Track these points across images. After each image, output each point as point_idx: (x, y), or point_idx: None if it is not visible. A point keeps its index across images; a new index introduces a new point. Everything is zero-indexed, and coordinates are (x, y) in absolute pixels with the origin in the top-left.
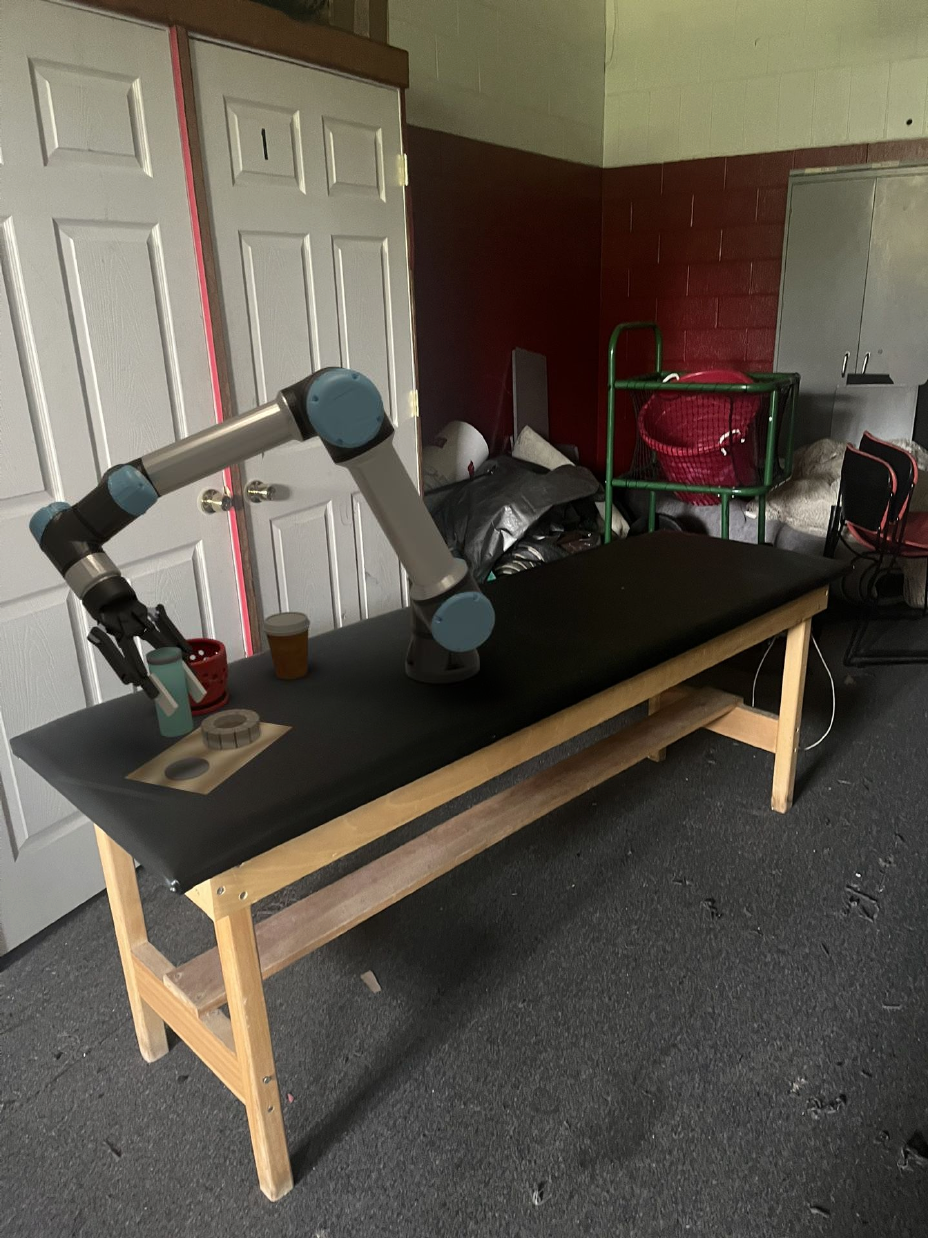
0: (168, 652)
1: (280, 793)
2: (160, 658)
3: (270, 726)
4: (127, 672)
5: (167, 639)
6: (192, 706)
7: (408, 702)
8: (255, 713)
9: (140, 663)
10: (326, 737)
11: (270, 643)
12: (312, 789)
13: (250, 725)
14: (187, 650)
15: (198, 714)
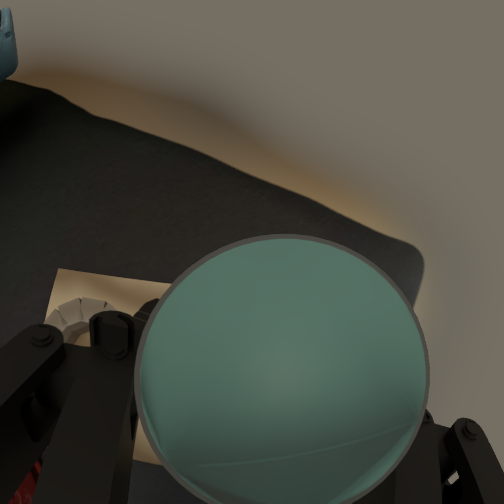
0: (277, 338)
1: (250, 207)
2: (408, 309)
3: (56, 306)
4: (485, 438)
5: (45, 475)
6: (30, 472)
7: (9, 169)
8: (49, 317)
9: (415, 464)
10: (80, 216)
11: None
12: (229, 175)
13: (96, 303)
14: (54, 342)
15: (37, 460)
